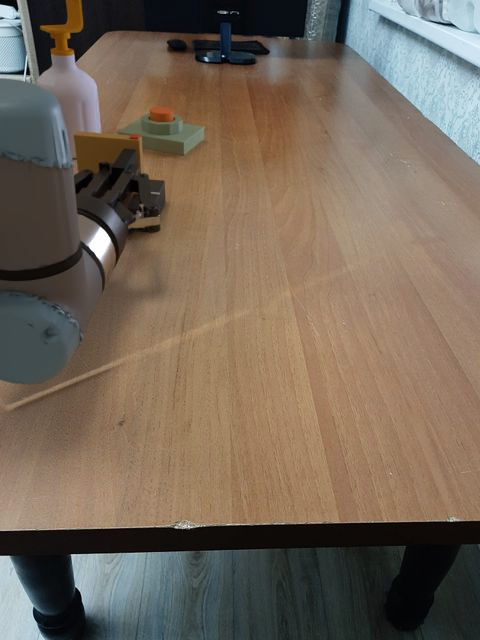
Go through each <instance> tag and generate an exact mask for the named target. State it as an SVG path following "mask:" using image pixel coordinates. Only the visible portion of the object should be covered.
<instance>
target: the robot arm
mask: <svg viewBox="0 0 480 640" xmlns="http://www.w3.org/2000/svg"><path fill="white" fill-rule="evenodd" d="M74 167H75V165H74V159H73V158H72V157H71V151H70V146H69V140H68V135H67V129H66V125H65V123H64V118H63V114H62V109H61V106H60V104H59V102H58V100H57V99H56V97H55V96H54V95H53V94H52V93H50V92H49V91H48V90H46V89H44V88H42V87H40V86H38V85H36V83H33V82H31V81H30V82H29V81H26V80H21V79H20V80H19V79H14V78H13V79H12V78H0V381H3V382H6V383H9V384H19V385H20V384H21V385H28V386H29V385H38V384H39V385H40V384H43V383H46V382H49V381H51V380H53V379H55V378H57V376H59V375H60V374H61V373H62V372H63V371H64V370H65V369H66V367H67V366H68V364H69V362H70V360H71V359H72V356H73V355H74V353H75V352H76V351H77V349H79V348H80V346H81V345H82V343H83V342H82V341H83V340H84V335H85V332H86V330H87V328H88V326H89V324H90V321H91V319H92V318H93V317H92V316H93V314H94V313H95V310H96V308H97V306H98V303H99V301H100V299H101V297H102V296H103V293H104V291H105V289H106V287H107V285H108V283H109V281H110V278H111V276H112V275H113V272H114V270H115V268H116V266H117V264H118V262H119V261H120V258H121V256H122V254H123V251H124V249H125V246H126V243H127V241H128V239H129V238H131V237H133V236H134V235H135V234H136V233H137V231H136V228H147V229H148V230H149V231H150V232H149V233H158V232H159V233H160V231H161V213H160V207H159V206H158V205H157V204H156V203H155V202H154V201H153V200H152V195H151V188H150V181H149V179H150V176H149V174H148V173H145V172H144V173H141V174H140V166H139V165H137V157H136V149H123V150H122V152H121V153H120V155H119V156H118V158H117V159H116V161H115V162H114V163H109V162H100V163H99V171H98V172H97V173H93V171H92V170H90V169H84V170H82V171H80V172H78V171H77V173H74ZM112 186H113V188H112ZM135 192H136V193H139V203H140V205H139V210H137V211H136V215H134V214H133V213H132V212H130V211H129V210H128V209H127V207H128V205H129V203H130V201H131V199H135Z"/></svg>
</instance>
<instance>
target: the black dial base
mask: <svg viewBox="0 0 480 640" xmlns="http://www.w3.org/2000/svg"><path fill="white" fill-rule="evenodd" d="M149 181H150V188H151V195H152V200H153V201H154V202H155V203H156V204H157V205H158V206H159V207H160V214H161V213H162V211H163V208H164V205H165V203H166V181H165V180H162V179H151V178H149ZM139 205H140V203H139V195H137V194H135V199H131V201H130V203H129V205H128V207H127V209H128V210H129V211H130V212H132V213H133V214H134V215H136V211H137V210H139ZM136 232H148V233H151V232H150V231H149V230H148V229H147V228H136Z"/></svg>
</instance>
